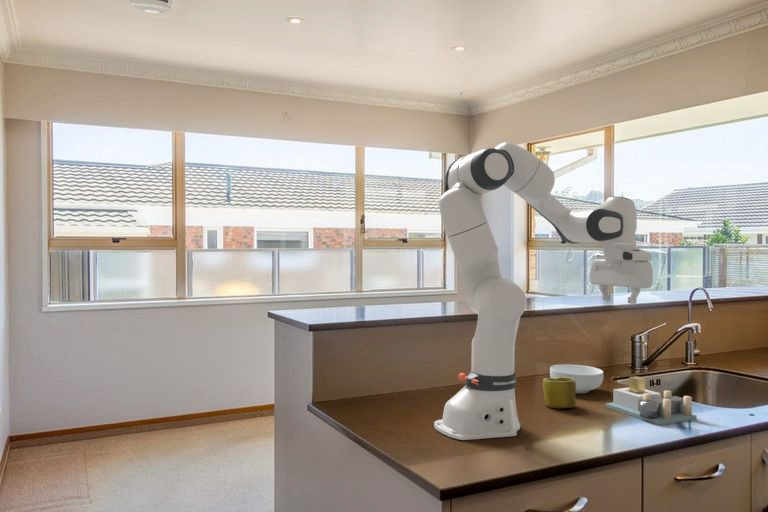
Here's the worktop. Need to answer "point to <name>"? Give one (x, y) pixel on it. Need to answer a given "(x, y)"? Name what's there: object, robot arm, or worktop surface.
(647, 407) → the grey lever handle
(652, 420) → the jig plate
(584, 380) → the cereal bowl
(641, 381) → the wooden bar
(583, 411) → the worktop surface
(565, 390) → the mug
